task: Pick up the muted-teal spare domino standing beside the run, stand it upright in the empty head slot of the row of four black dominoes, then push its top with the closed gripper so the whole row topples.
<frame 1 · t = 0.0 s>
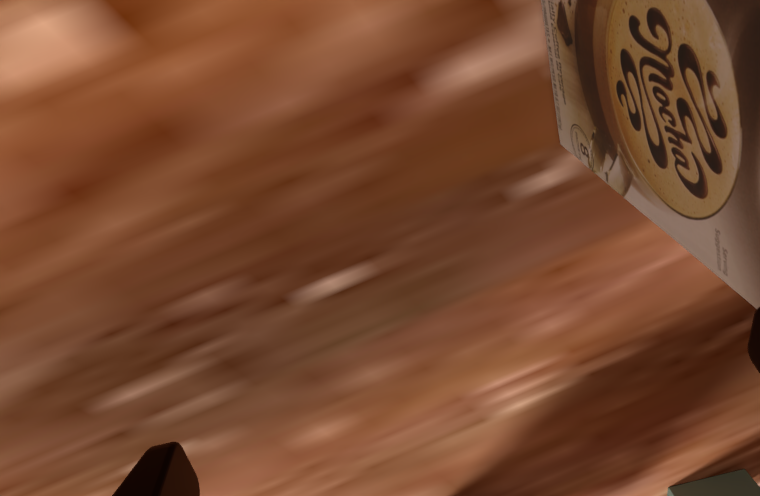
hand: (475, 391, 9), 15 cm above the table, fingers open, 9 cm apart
coffee box: (620, 8, 21), on the table
teal domino: (705, 486, 37), on the table
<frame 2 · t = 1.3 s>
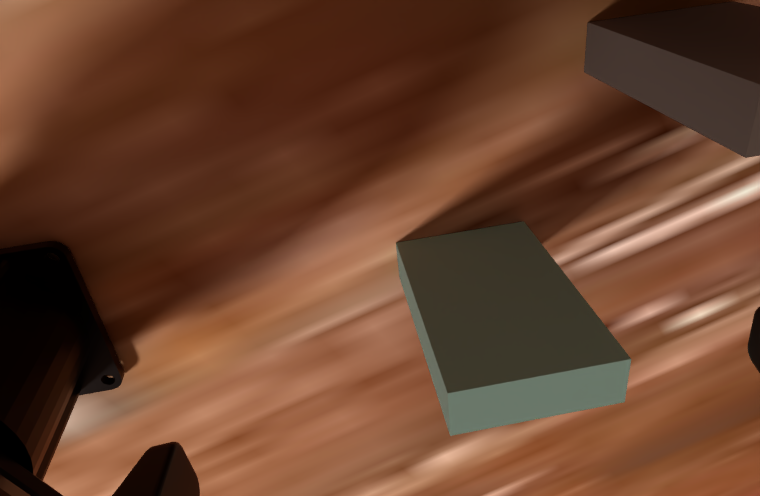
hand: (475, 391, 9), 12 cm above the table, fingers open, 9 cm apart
teal domino: (461, 249, 22), on the table
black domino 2: (657, 37, 19), on the table
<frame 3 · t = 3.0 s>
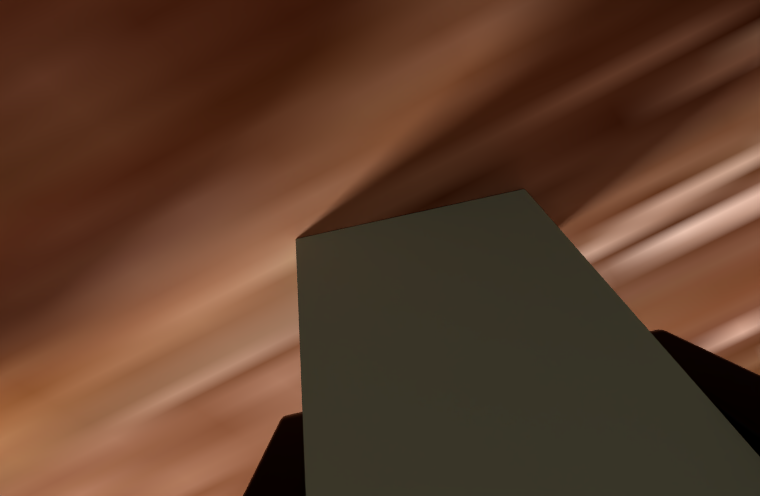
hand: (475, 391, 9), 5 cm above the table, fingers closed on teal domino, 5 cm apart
teal domino: (416, 245, 13), on the table, touching gripper
when the fingers open (6 cm above the table, at t = 6.6 s): teal domino drops 1 cm, on the table.
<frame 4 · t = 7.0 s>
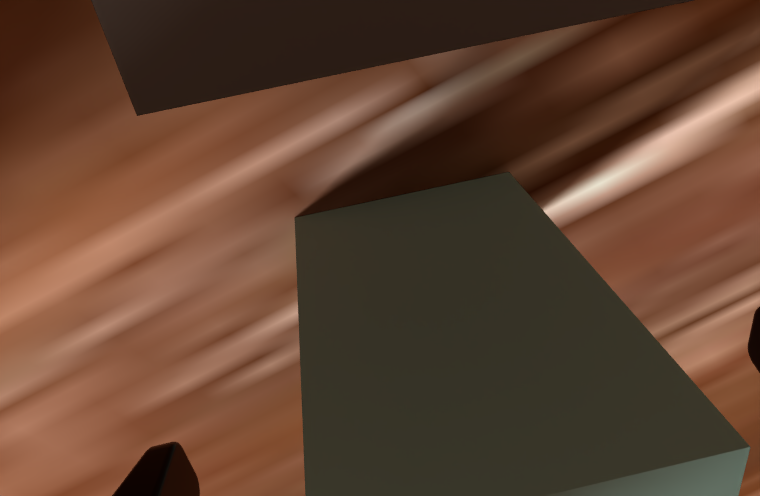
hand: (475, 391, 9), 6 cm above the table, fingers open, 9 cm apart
teal domino: (407, 225, 14), on the table
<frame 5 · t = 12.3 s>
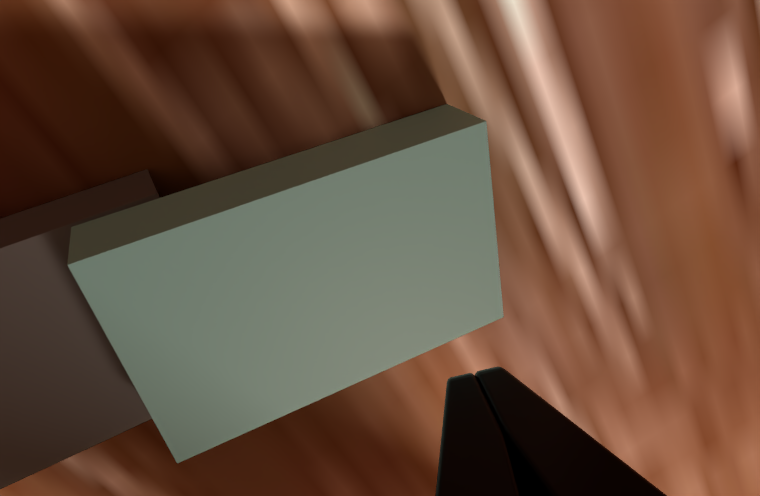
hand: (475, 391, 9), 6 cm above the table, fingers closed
teal domino: (476, 215, 13), point 1 cm above the table, tilted 75°, touching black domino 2
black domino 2: (194, 279, 13), point 1 cm above the table, tilted 72°, touching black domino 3, teal domino
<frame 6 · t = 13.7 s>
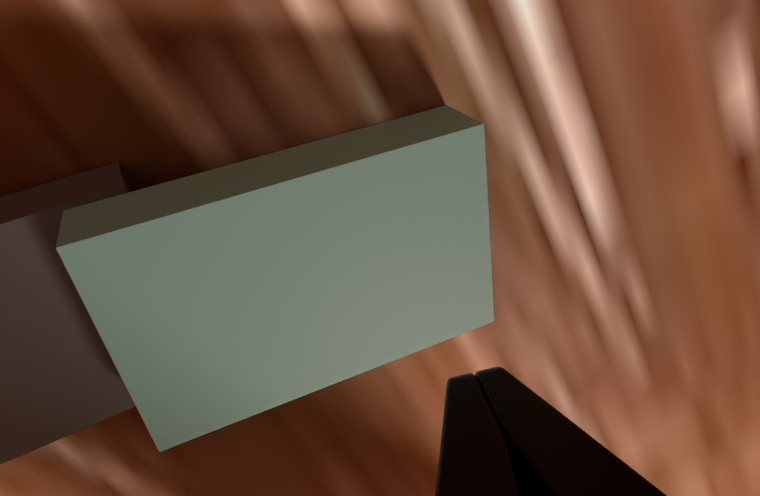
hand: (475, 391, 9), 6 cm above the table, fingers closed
teal domino: (471, 218, 13), point 1 cm above the table, tilted 76°, touching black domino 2
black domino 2: (164, 274, 13), point 1 cm above the table, tilted 72°, touching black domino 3, teal domino
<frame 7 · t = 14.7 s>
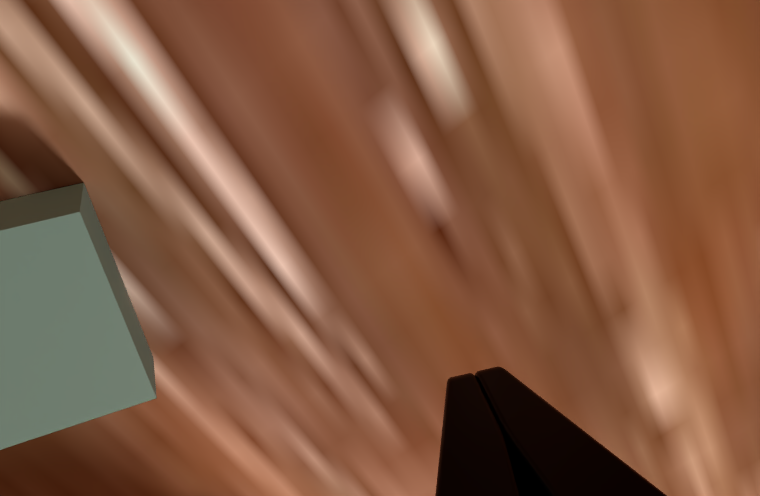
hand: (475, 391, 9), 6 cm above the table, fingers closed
teal domino: (121, 295, 13), point 1 cm above the table, tilted 77°, touching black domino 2
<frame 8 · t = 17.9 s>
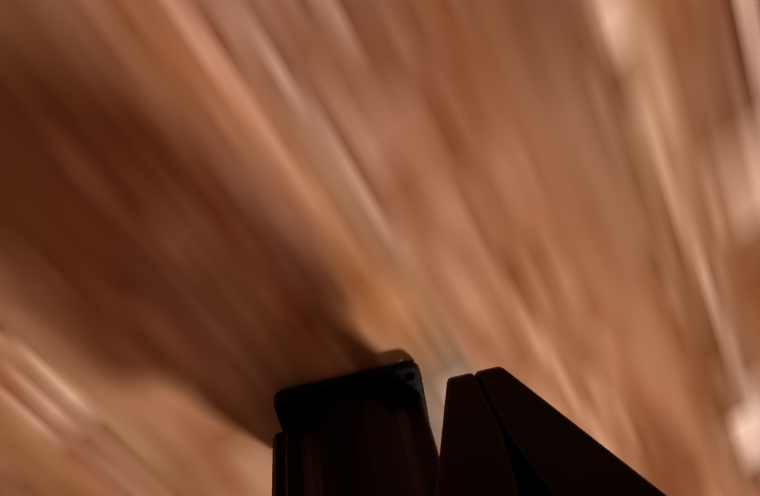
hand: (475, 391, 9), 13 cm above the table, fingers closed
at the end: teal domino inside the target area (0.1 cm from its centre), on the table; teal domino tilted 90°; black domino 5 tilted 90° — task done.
